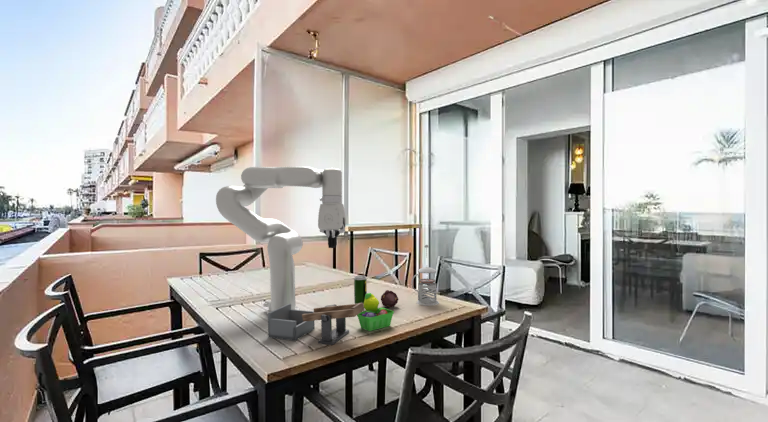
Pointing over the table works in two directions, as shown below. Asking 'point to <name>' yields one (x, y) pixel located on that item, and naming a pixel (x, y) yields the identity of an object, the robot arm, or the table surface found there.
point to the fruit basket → (374, 314)
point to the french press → (423, 298)
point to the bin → (288, 323)
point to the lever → (334, 311)
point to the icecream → (389, 299)
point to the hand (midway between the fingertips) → (332, 247)
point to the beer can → (360, 289)
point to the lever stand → (326, 330)
